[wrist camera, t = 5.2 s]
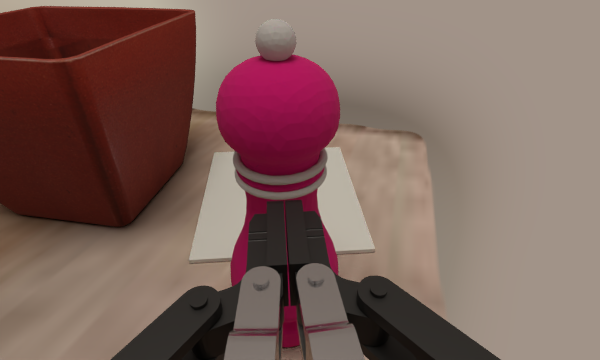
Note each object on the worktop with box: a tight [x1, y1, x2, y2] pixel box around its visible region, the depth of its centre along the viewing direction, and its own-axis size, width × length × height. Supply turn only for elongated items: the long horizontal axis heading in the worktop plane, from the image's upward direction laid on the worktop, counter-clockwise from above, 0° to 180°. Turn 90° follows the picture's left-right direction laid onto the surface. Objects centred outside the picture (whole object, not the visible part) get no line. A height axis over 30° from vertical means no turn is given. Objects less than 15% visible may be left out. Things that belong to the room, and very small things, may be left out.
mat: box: [189, 147, 375, 263], centre depth 38 cm, size 18×16×1 cm
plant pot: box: [0, 6, 196, 227], centre depth 35 cm, size 19×19×17 cm
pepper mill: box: [216, 19, 340, 347], centre depth 21 cm, size 7×7×20 cm
